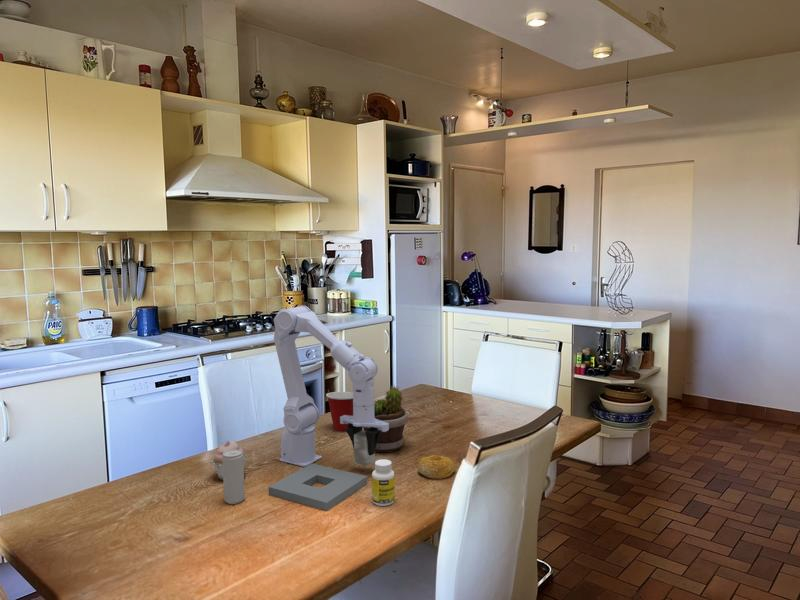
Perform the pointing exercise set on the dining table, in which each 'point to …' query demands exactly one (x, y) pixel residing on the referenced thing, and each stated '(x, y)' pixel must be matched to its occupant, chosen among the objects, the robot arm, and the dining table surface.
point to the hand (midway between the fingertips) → (364, 452)
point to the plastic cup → (340, 408)
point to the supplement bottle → (383, 483)
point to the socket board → (321, 498)
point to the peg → (362, 450)
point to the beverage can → (233, 476)
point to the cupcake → (218, 455)
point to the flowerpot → (390, 420)
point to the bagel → (436, 467)
